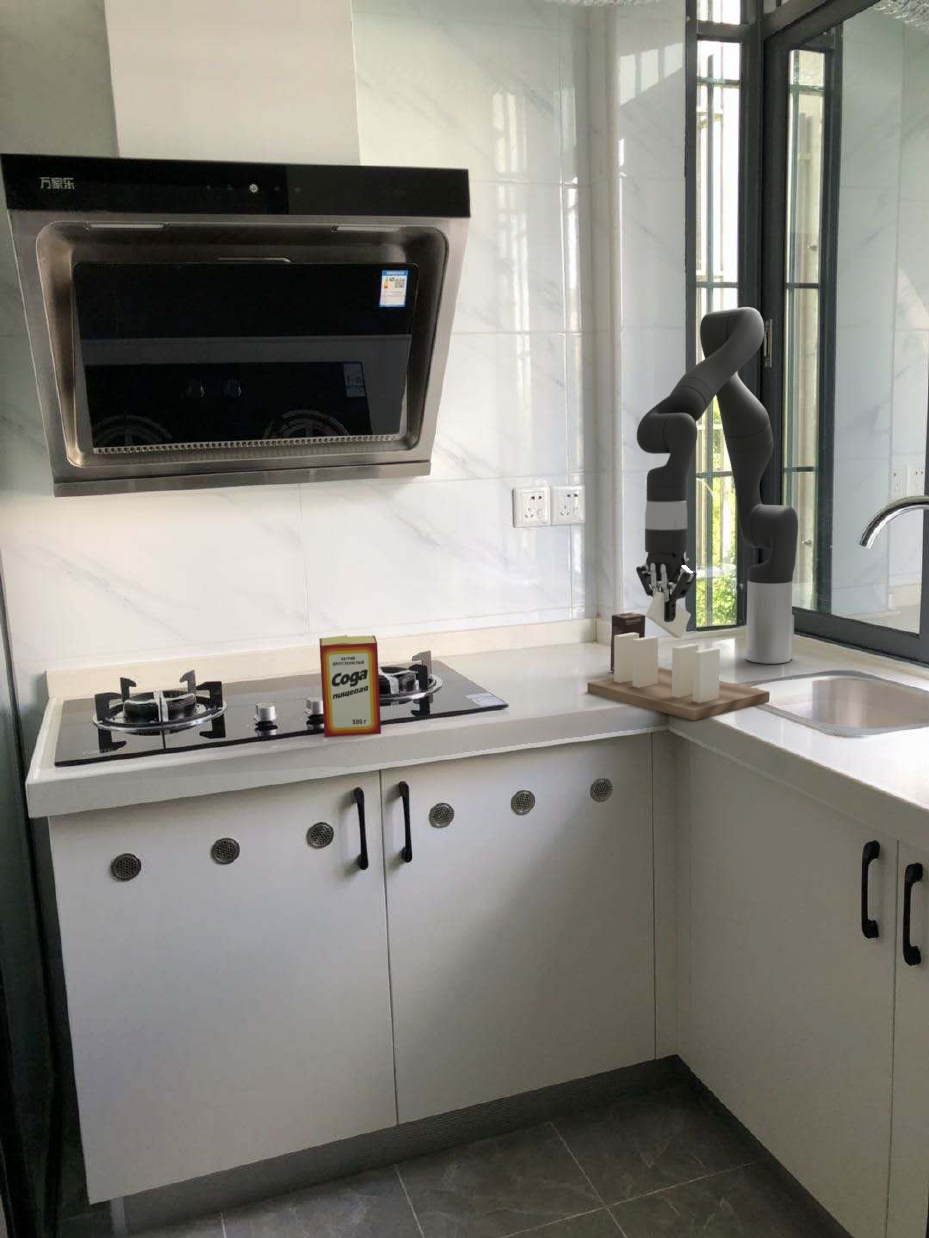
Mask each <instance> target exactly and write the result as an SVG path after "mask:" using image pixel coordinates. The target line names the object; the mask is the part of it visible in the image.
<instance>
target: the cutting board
mask: <svg viewBox="0 0 929 1238" xmlns="http://www.w3.org/2000/svg"><path fill="white" fill-rule="evenodd" d="M586 684H587V686H586V688H587V693H591V694H594V695H598V696H602V697H606V698H609V699H612V700H617V701H619V702H624V703H628V704H631V705H635V706H637V707H638V706H639V707H641V708H646V709H649V710H653V711H657V712H659V713H664V714H667V715H672V716H674V717H678V718H682V719H687V720H691V721H697V720H702V719H706V718H709V717H712V716H713V717H714V716H717V715H721V714H726V713H730V712H732V711H736V710H737V711H738V710H740V709H745V708H748V707H749V708H750V707H753V706H755V705H756V706H757V705H761V704H764V703H768V702H770V696H771V695H770V691H768V690H763V689H761V688H760V689H759V688H755V687H749V686H745V685H741V684H737V683H732V682H728V681H724V680H721V679H719V699H715V700H710V701H706V702H702V703H698V702H694V701H693V694H692V695H688V696H684V697H680V698H678V697H674V696H672V669H669V668H665V667H658V684H653V685H649V686H644V687H640V688H638V687H634V686H633V680H632V681H627V682H622V683H618V682H614V676H613V677H608V678H604V679H599V680H594V681H590V682H587V683H586Z"/></svg>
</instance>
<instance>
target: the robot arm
mask: <svg viewBox="0 0 929 1238" xmlns="http://www.w3.org/2000/svg"><path fill="white" fill-rule="evenodd" d="M764 336H765V326H764V320H763V318H762V316H761V313H760V312H759V311H758V310H757V309H756V308H754V307H749V306H745V307H744V306H743V307H735V308H728V309H721V310H715V311H709V312H708V313H706V314H705V315H703V317H702V319H701V321H700V325H699V338H700V339H699V340H700V345H701V350H702V353H703V357H704V359H702V361H700V362H698V363H697V364H695V365H693V367H692V368H690V369H689V370H687V371H686V372H685V374H684V375H682V377H681V378H680V379H679V381H678V382H677V383H676V385H675V386H674V388H673V389H672V391H671V392H670V394H669V395H668V396H667V397H665V398H664V399H662V400H661V401H660V402H658V403H657V404H656V405H654V406H653V407H652V408H651V409H650V410H649V411H648V412H646V413H645V415H644V416H643V417H642V418H641V420H640V421H639V424H638V427H637V430H636V440H637V441H636V442H637V444H638V447H639V448H640V449H641V450H642V451H643V452H645V453H646V454H653V455H655V454H659V455H660V454H664V455H665V454H669V456H668V459H667V461H666V463H665V464H664V465H662V466H658V467H654V468H652V469H650V470H649V471H648V472H647V475H646V502H645V504H646V505H645V513H644V550H645V552H646V553H647V556H646V560H645V563H644V564H642V565H640V566H637V567H636V569H635V571H636V574H637V576H638V578H639V581H640V583H641V585H642V587H643V589H644V592H645V594H646V596H648V597H649V596H651V598H652V599H653V598H654V596H655V594H656V592H662V593H664V601H665V602H664V621H665V622H671V621H674V618H675V617H676V603H677V601H678V600H680V599H684V598H685V597H686V595H687V594H688V592H689V590H690V589H691V586H692V584H693V582H694V581H695V579H696V577H697V575H698V574H697V571H696V570H690V568H688V566H687V562H686V559H685V553H686V552H687V551H688V507H687V478H688V473H689V469H690V466H691V462H692V456H693V455H694V451H695V447H696V444H697V440H698V427H697V423H696V422H698V421H699V420H700V419H701V417H702V416H703V415H704V413H705V412H706V410H707V409H708V407H709V406H710V404H711V403H712V401H713V400H714V398H715V397H716V401H717V405H718V409H719V414H720V415H719V416H720V418H721V424H722V425H721V426H722V432H723V436H724V441H725V446H726V450H727V455H728V459H729V462H730V467H731V468H730V469H731V472H732V479H733V483H734V490H735V497H736V506H737V517H738V525H739V532H740V535H741V539H742V541H743V542H744V545H746V546H748V547H750V548H754V549H767V550H768V549H769V550H770V555H769V557H768V559H766V560H765V561H764V562H762V563H758V564H753V565H751V566H750V567H749V568H748V570H747V586H746V587H747V591H746V592H747V598H746V635H745V636H746V638H745V639H746V642H745V643H746V645H745V659H746V661H749V662H752V663H757V664H758V663H759V664H769V665H770V664H771V665H773V664H774V665H775V664H783V663H789V662H790V661H791V659H794V641H795V639H794V638H795V615H794V614H792V613H793V588H794V587H793V582H794V572H795V567H796V560H797V559H796V557H797V545H798V535H799V519H798V514H797V512H796V510H795V509H794V508H793V507H792V506H791V505H782V504H781V505H780V504H763V503H762V499H761V494H760V482H761V479H762V476H763V474H764V472H765V470H766V468H767V466H768V464H769V461H770V459H771V456H772V454H773V451H774V446H775V445H774V444H775V443H774V436H773V431H772V426H771V421H770V417H769V414H768V412H767V409H766V408H765V407H764V405H763V404H762V403H761V402H760V400H758V398H757V397H756V396H755V395H754V394H753V392H751V391H750V389H748V388H747V386H746V385H745V384H744V383H743V381H742V380H741V379H740V377H739V375H738V373H737V372H738V371H739V370H740V369H741V368H742V367H743V366H744V365H745V364H746V363H747V362H748V361H749V360H750V359H751V358H752V357H753V356H754V355H755V354H756V353H757V352H758V351H759V349H760V348H761V345H762V343H763V340H764Z"/></svg>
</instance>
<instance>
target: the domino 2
mask: <svg viewBox="0 0 929 1238" xmlns="http://www.w3.org/2000/svg"><path fill="white" fill-rule="evenodd" d="M658 652H659V637H658V636H655V635H650V636H645V637H643V638H638V639H633V686H634V687H638V688H640V687H644V686H649V685H653V684H658V668H659V663H658V662H659V653H658Z"/></svg>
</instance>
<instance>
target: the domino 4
mask: <svg viewBox="0 0 929 1238" xmlns="http://www.w3.org/2000/svg"><path fill="white" fill-rule="evenodd" d="M671 649H672V657H671V660H672V661H671V662H672V664H671V665H672V666H671V670H672V696H674V697H678V698H680V697H684V696H688V695H692V694H693V658H694V651H699V644H696V643H688V644H682V645H677V646H673V647H672V648H671Z"/></svg>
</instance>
